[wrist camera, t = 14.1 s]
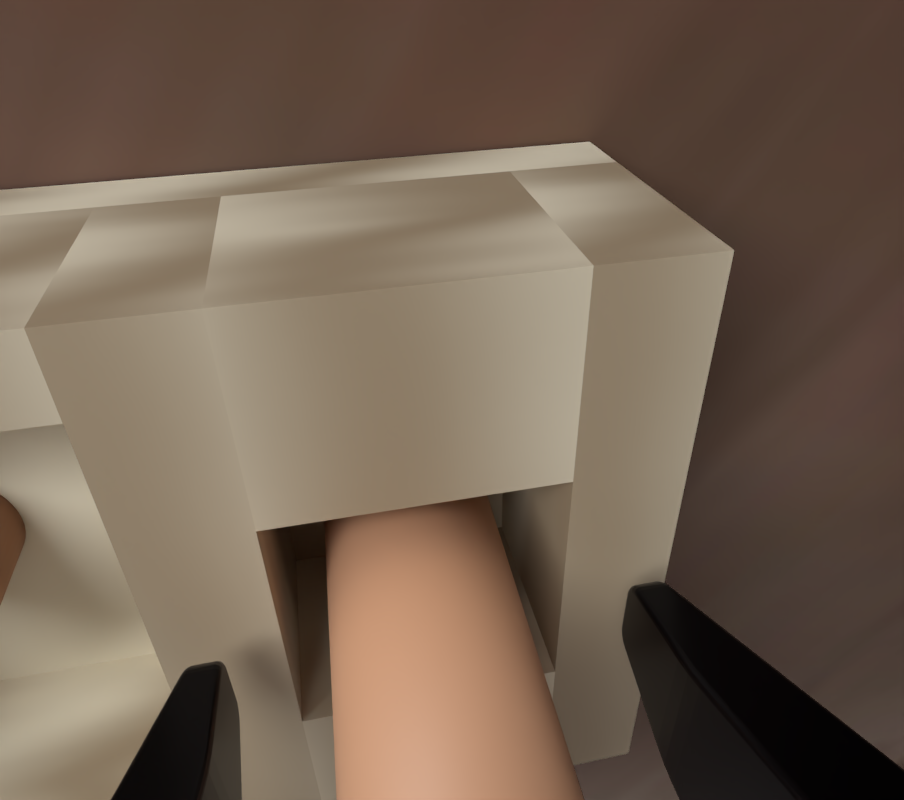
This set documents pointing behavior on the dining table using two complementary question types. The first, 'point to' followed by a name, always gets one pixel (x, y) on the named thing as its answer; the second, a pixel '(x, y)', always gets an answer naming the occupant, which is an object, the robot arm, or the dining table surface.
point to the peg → (436, 663)
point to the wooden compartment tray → (328, 431)
